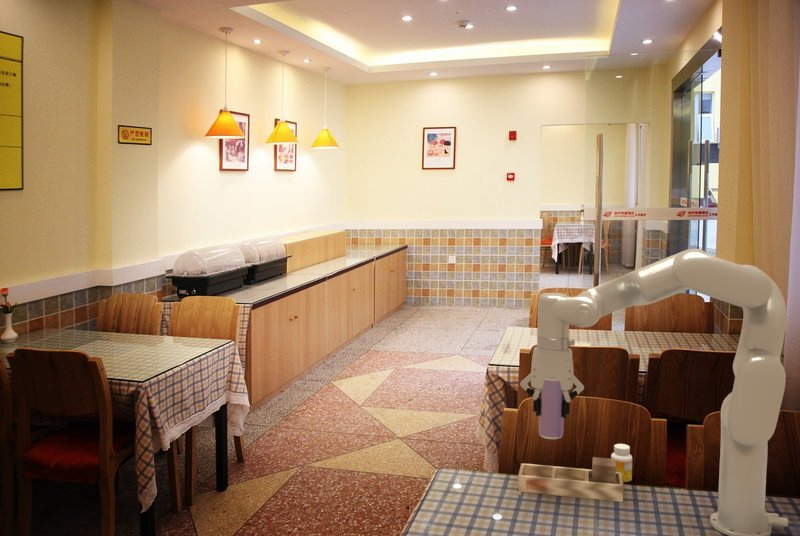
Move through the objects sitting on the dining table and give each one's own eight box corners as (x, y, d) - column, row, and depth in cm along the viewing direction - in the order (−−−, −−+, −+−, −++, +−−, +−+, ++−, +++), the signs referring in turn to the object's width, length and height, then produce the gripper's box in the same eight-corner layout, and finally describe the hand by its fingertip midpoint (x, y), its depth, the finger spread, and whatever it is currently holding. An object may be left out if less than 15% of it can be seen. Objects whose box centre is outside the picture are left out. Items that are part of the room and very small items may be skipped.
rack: (620, 491, 182) (621, 472, 181) (622, 506, 173) (623, 486, 172) (521, 481, 188) (521, 463, 188) (517, 495, 179) (518, 476, 179)
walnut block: (614, 489, 180) (615, 459, 180) (615, 498, 175) (616, 466, 174) (591, 487, 182) (592, 457, 181) (592, 495, 176) (592, 464, 176)
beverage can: (563, 440, 171) (565, 379, 170) (538, 439, 172) (540, 378, 171) (562, 432, 177) (564, 373, 176) (538, 431, 178) (539, 372, 177)
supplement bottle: (606, 479, 189) (606, 444, 188) (621, 476, 191) (622, 441, 190) (620, 487, 184) (621, 450, 183) (636, 483, 187) (637, 447, 186)
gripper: (588, 342, 174) (586, 413, 176) (518, 339, 178) (516, 409, 180) (589, 348, 167) (587, 423, 169) (515, 345, 171) (514, 417, 173)
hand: (551, 415), depth 174 cm, fingers closed on beverage can, 5 cm apart
